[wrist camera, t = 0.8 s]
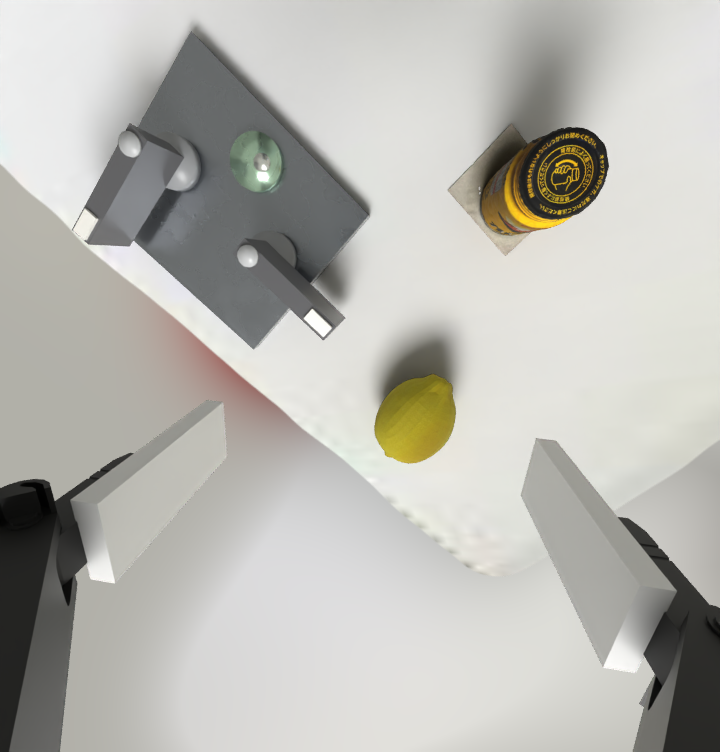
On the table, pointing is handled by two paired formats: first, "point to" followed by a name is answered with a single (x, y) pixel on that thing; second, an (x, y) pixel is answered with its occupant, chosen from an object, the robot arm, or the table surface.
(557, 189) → the condiment
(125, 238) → the grey lever handle
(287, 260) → the grey lever handle
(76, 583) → the robot arm
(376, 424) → the lemon
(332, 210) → the plate
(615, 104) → the table surface
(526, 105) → the table surface
